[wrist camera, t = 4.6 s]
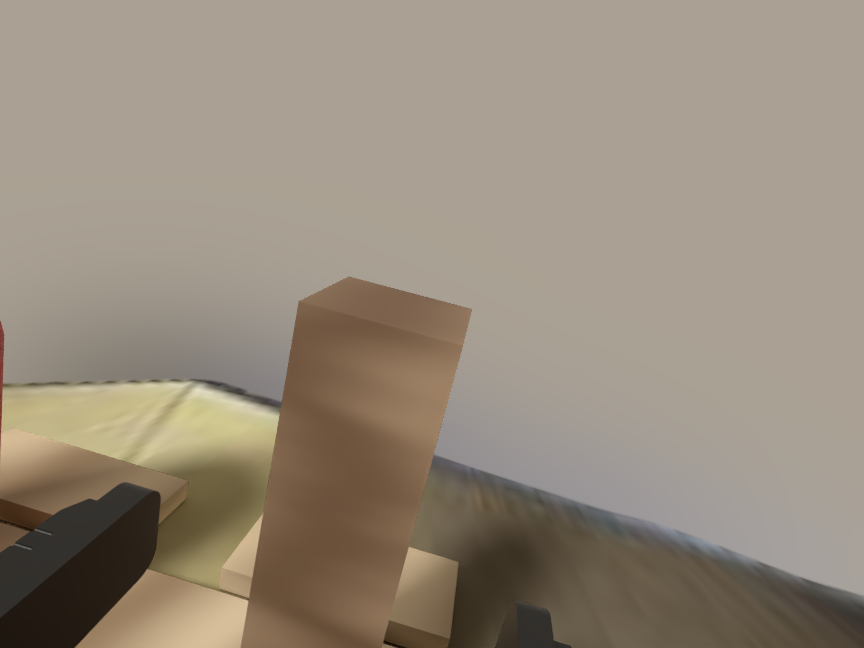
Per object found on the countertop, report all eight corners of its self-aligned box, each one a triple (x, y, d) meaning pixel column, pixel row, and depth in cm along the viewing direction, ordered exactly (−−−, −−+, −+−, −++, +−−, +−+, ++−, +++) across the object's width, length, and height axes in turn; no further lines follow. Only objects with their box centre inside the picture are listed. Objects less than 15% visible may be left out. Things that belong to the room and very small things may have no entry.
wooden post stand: (444, 686, 17) (564, 313, 14) (399, 1074, 10) (649, 458, 6) (-109, 509, 19) (-137, 130, 15) (-532, 723, 11) (-801, 55, 7)
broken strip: (453, 579, 22) (458, 562, 22) (443, 659, 18) (450, 639, 18) (13, 446, 24) (13, 428, 23) (-82, 493, 20) (-83, 472, 19)
